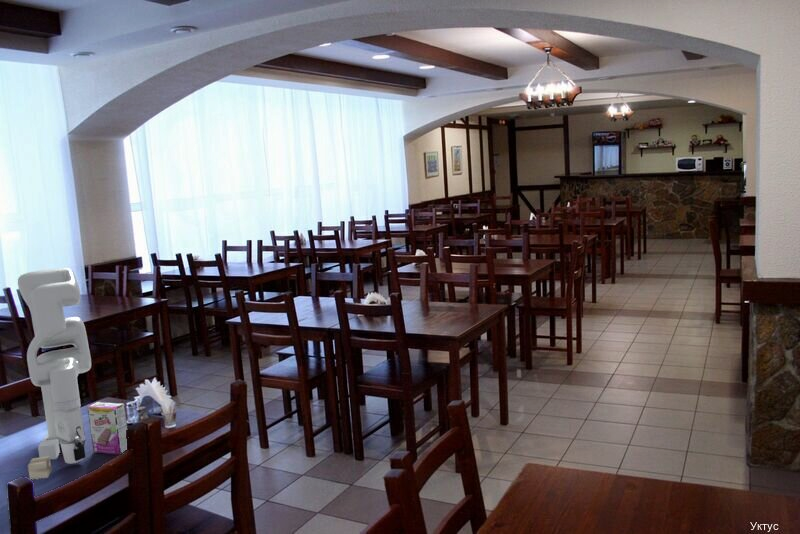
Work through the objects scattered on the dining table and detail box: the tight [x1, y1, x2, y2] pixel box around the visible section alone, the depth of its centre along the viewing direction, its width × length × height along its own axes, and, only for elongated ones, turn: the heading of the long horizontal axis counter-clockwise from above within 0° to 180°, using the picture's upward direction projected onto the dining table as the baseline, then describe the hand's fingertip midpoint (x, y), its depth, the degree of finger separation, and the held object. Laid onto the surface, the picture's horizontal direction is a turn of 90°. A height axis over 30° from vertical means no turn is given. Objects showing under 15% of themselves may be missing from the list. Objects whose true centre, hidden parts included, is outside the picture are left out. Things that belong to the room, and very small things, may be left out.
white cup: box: [59, 436, 85, 464], centre depth 213 cm, size 7×7×7 cm
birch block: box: [27, 456, 52, 481], centre depth 207 cm, size 5×5×5 cm
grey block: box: [37, 439, 61, 460], centre depth 221 cm, size 5×5×5 cm
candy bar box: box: [87, 401, 128, 456], centre depth 221 cm, size 11×5×16 cm, turn 74°
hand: (74, 455), depth 213 cm, fingers closed on white cup, 6 cm apart
